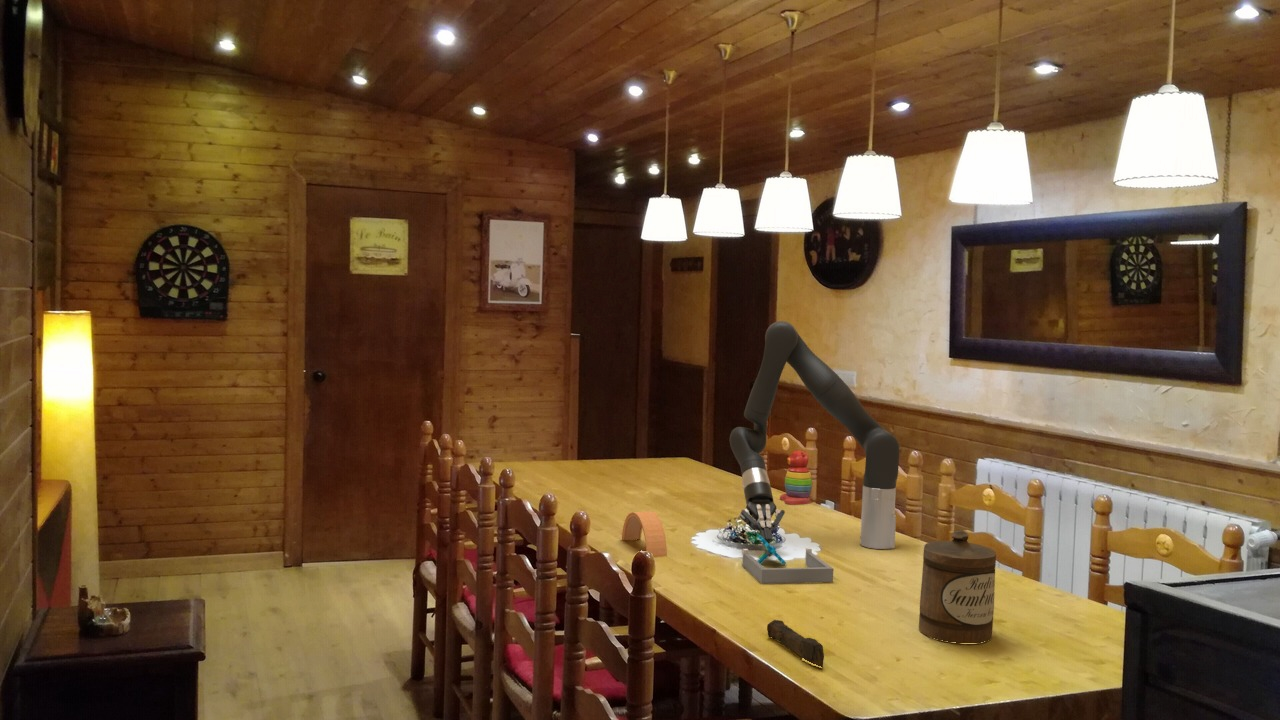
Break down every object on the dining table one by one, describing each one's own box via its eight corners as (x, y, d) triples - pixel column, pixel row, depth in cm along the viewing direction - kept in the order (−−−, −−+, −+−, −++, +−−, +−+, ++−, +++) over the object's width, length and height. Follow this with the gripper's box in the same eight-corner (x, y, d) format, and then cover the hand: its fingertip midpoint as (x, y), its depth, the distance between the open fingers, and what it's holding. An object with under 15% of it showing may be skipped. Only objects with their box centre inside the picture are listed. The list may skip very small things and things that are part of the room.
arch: (646, 558, 265) (647, 521, 264) (621, 540, 283) (622, 505, 283) (666, 557, 267) (667, 520, 266) (640, 539, 285) (641, 504, 285)
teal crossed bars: (789, 564, 256) (763, 535, 257) (773, 579, 256) (746, 550, 257) (786, 559, 267) (760, 531, 268) (769, 574, 267) (744, 546, 268)
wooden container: (955, 649, 201) (960, 541, 200) (904, 626, 214) (909, 525, 213) (1007, 639, 208) (1013, 535, 207) (955, 618, 221) (960, 520, 220)
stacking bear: (778, 498, 351) (780, 448, 350) (806, 498, 353) (808, 448, 351) (786, 504, 341) (788, 453, 340) (815, 505, 342) (817, 453, 341)
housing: (742, 565, 260) (742, 548, 259) (809, 564, 263) (810, 547, 263) (761, 583, 243) (762, 566, 243) (832, 582, 247) (833, 564, 246)
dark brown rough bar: (765, 638, 204) (766, 616, 204) (783, 637, 206) (784, 615, 205) (808, 672, 186) (809, 648, 186) (827, 670, 188) (828, 646, 187)
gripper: (737, 480, 275) (747, 534, 263) (783, 480, 277) (795, 534, 266) (731, 495, 280) (740, 549, 269) (776, 495, 282) (787, 549, 271)
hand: (767, 542), depth 267 cm, fingers closed
